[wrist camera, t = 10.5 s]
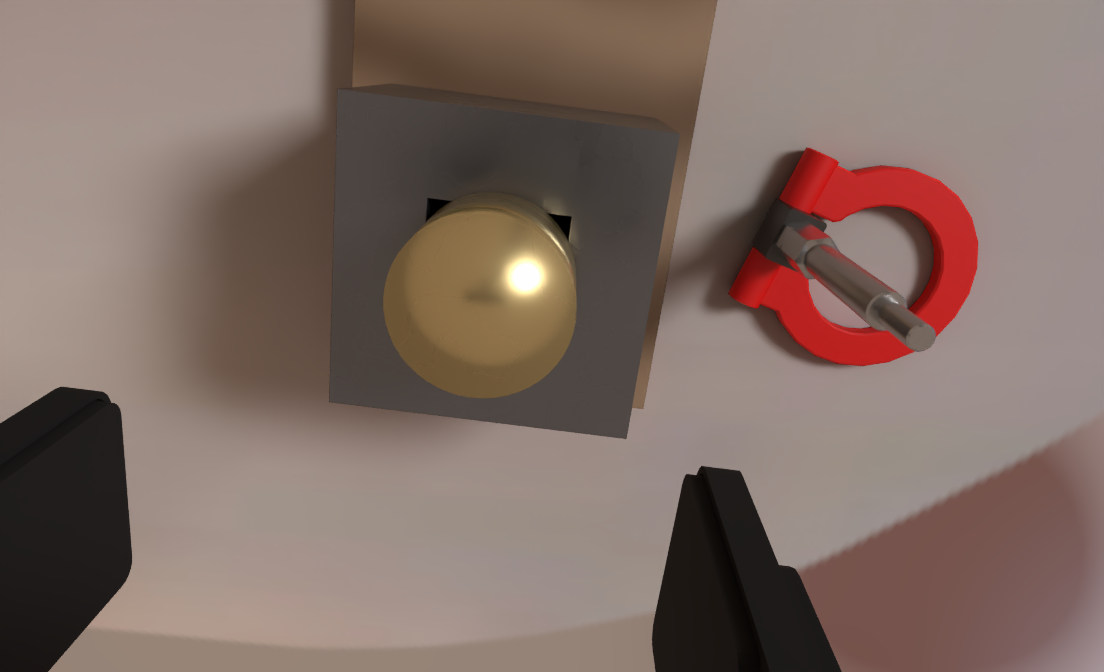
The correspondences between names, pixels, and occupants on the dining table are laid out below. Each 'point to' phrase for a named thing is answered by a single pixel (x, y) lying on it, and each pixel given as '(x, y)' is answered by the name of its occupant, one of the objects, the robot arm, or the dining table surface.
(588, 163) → the hitch block
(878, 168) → the tow hook
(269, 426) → the dining table surface
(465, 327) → the brass pin
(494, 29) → the mount plate
